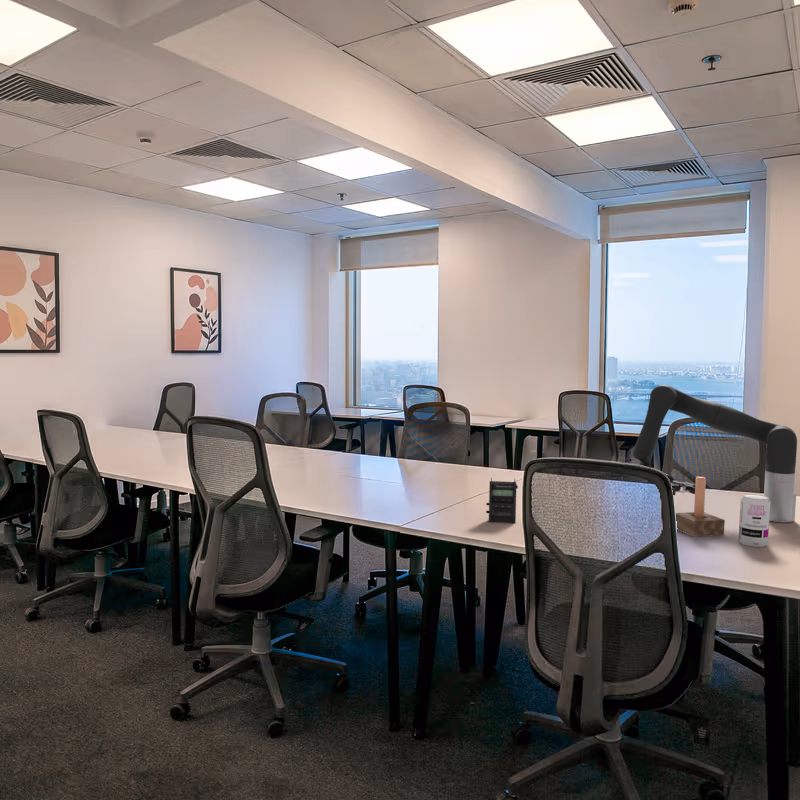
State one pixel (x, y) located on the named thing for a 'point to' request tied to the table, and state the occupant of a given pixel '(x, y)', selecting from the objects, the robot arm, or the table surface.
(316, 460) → the table surface
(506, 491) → the geiger counter
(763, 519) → the supplement can
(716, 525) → the socket block
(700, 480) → the peg
